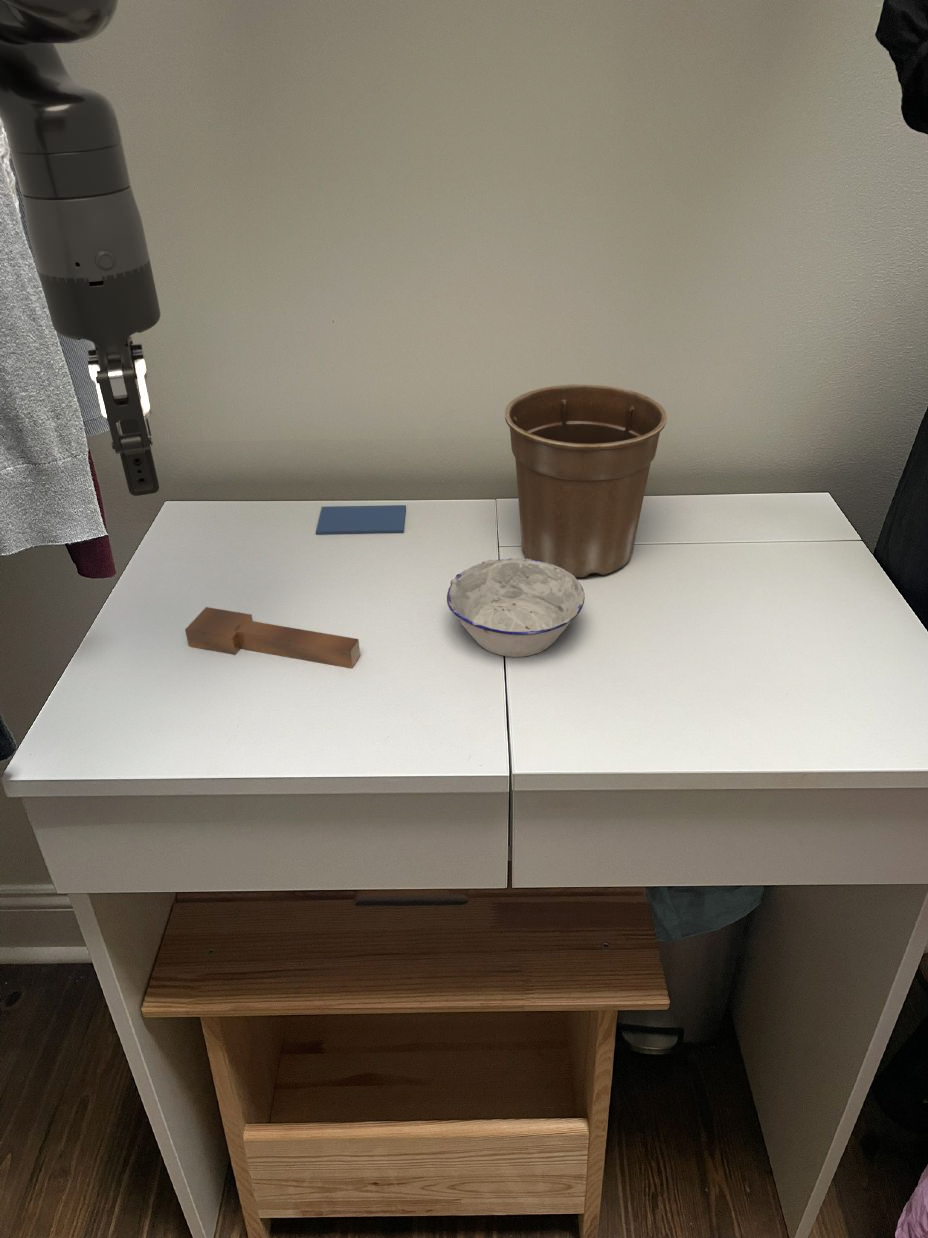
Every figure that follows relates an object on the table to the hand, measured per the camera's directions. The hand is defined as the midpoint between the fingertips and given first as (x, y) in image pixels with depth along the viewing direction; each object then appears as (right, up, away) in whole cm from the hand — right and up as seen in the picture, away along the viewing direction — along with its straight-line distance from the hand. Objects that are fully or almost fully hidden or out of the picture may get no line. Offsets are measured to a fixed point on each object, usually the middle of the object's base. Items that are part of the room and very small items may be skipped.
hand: (142, 469), depth 75 cm
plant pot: (+38, -4, +29) cm, 48 cm away
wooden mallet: (+8, -15, +15) cm, 22 cm away
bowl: (+31, -13, +16) cm, 37 cm away
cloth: (+14, 0, +35) cm, 37 cm away
